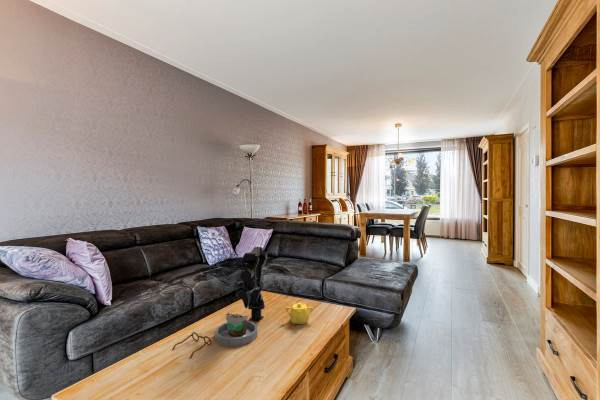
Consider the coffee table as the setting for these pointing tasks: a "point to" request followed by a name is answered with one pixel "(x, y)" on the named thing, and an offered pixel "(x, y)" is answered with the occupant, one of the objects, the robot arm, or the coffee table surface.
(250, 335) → the bowl
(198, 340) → the glasses
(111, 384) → the coffee table surface
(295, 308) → the teapot
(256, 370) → the coffee table surface
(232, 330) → the food container
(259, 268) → the robot arm
